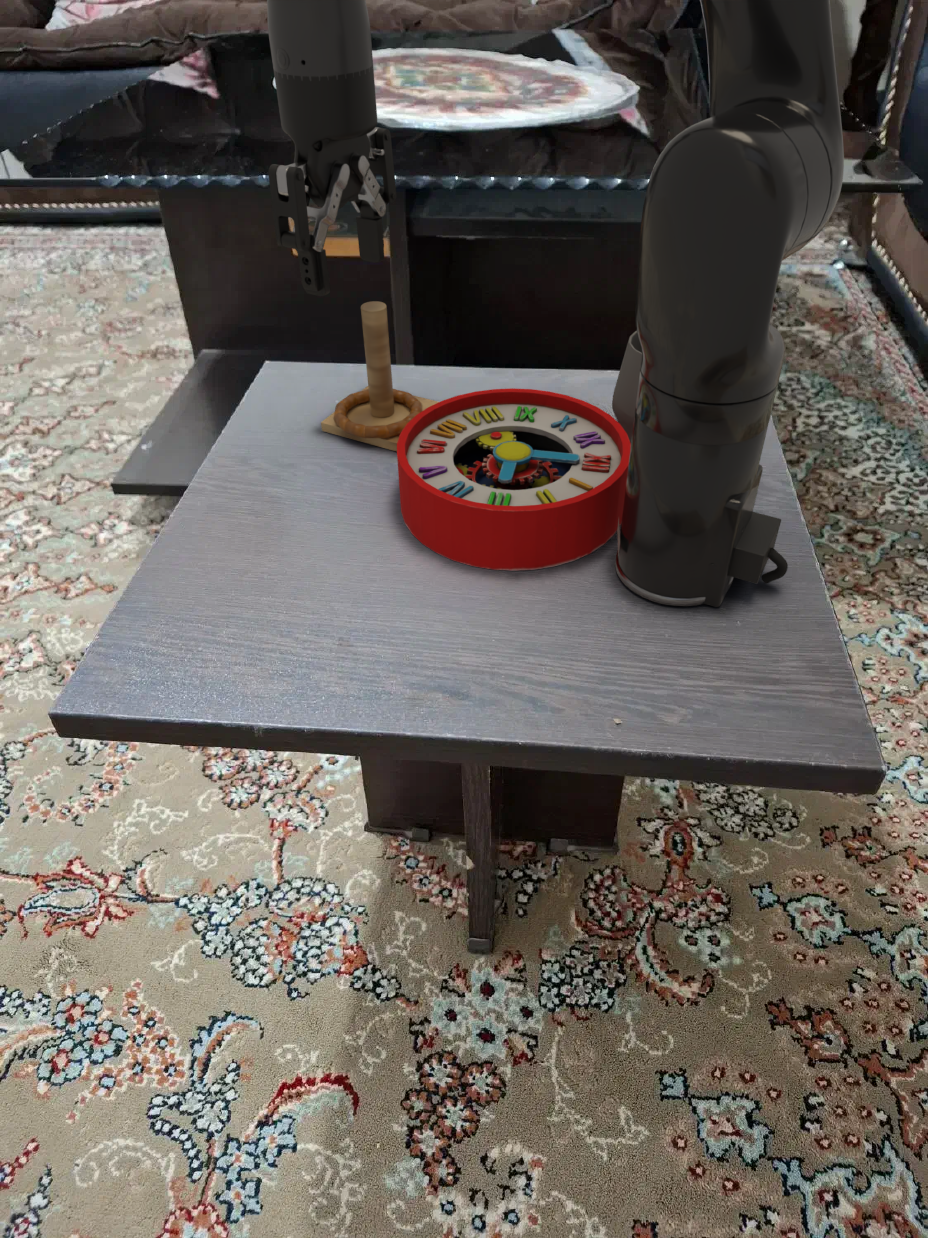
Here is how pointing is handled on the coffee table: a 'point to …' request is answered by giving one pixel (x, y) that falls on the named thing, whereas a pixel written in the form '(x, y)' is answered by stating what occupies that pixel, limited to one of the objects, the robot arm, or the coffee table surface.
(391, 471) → the coffee table surface
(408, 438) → the toy clock
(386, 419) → the wooden peg stand
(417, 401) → the ring
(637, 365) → the cup
